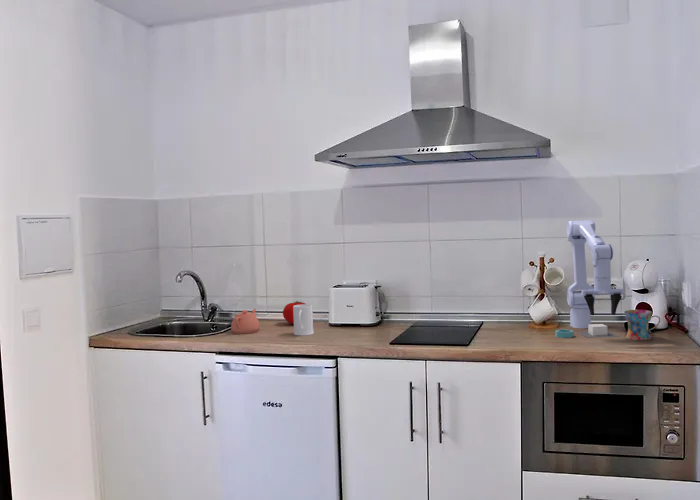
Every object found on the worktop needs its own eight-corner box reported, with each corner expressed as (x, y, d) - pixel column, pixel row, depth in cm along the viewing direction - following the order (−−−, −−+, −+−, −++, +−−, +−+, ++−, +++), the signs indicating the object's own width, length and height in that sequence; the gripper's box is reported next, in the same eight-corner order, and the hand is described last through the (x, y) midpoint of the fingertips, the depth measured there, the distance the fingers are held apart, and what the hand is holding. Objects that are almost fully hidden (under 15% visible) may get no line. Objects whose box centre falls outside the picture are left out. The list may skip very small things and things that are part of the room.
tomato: (309, 325, 298) (308, 302, 297) (282, 326, 297) (281, 303, 297) (310, 321, 311) (309, 298, 310) (284, 322, 311) (283, 299, 310)
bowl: (554, 337, 250) (553, 329, 250) (570, 337, 250) (570, 329, 250) (558, 340, 244) (558, 332, 244) (575, 340, 244) (575, 332, 244)
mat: (577, 334, 255) (577, 331, 255) (608, 333, 254) (608, 331, 254) (586, 340, 243) (586, 337, 243) (619, 339, 242) (619, 336, 242)
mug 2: (624, 342, 237) (623, 313, 237) (624, 337, 246) (624, 309, 245) (660, 343, 232) (660, 314, 232) (660, 339, 241) (660, 310, 240)
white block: (588, 333, 251) (588, 324, 251) (602, 332, 251) (602, 324, 251) (592, 335, 246) (592, 326, 246) (607, 335, 246) (607, 326, 246)
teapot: (223, 335, 282) (222, 313, 281) (244, 327, 299) (243, 307, 298) (248, 335, 278) (247, 313, 277) (268, 328, 294) (267, 307, 294)
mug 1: (308, 337, 269) (306, 308, 269) (288, 337, 271) (287, 308, 271) (316, 332, 281) (315, 304, 280) (297, 331, 283) (296, 304, 282)
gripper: (585, 279, 236) (585, 316, 236) (626, 278, 235) (627, 315, 236) (579, 277, 243) (580, 313, 244) (619, 276, 242) (619, 312, 243)
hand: (602, 314), depth 240 cm, fingers open, 7 cm apart
